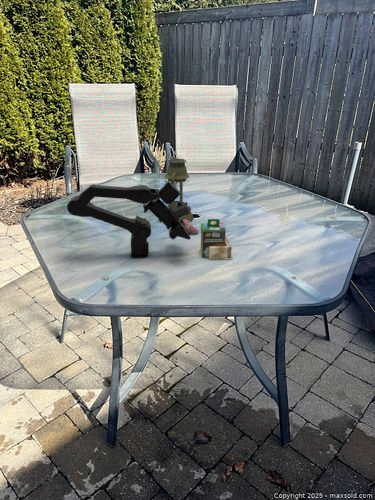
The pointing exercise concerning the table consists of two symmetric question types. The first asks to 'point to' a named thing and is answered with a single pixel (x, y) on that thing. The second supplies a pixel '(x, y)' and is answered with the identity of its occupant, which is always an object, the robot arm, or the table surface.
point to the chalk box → (212, 235)
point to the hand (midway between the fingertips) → (189, 238)
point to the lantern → (178, 181)
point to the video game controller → (190, 227)
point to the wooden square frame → (220, 251)
